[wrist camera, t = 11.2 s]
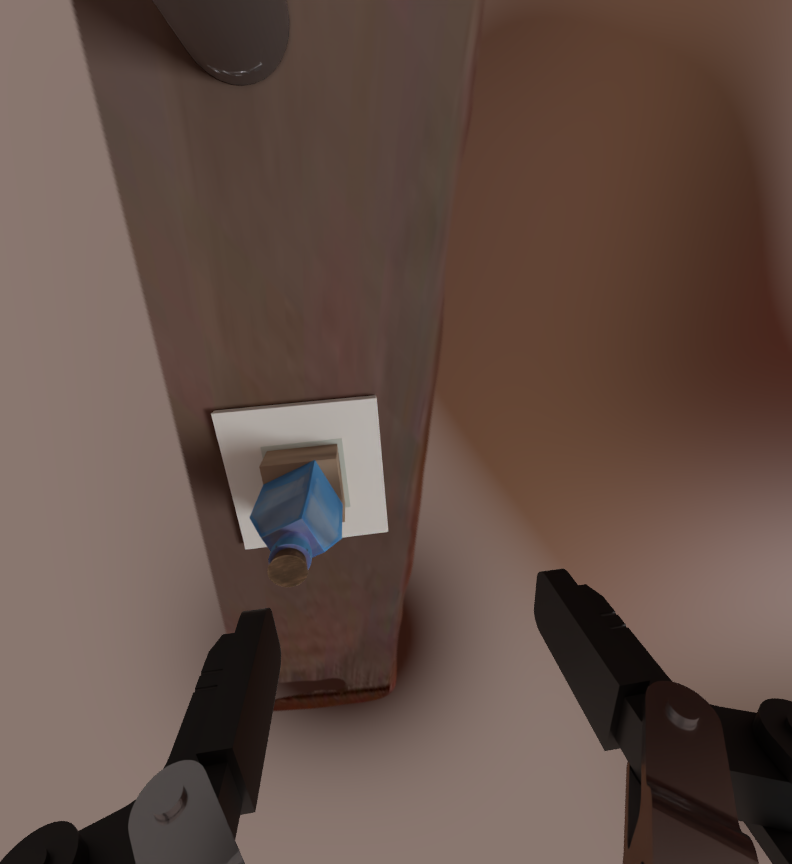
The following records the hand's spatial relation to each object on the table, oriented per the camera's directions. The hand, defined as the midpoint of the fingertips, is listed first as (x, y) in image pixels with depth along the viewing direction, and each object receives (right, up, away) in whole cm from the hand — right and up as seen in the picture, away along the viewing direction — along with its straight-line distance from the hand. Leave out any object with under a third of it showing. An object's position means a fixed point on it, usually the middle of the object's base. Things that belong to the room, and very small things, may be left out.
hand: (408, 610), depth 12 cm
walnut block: (-11, 0, +34) cm, 36 cm away
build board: (-11, 0, +35) cm, 37 cm away
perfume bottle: (-10, -1, +31) cm, 32 cm away
